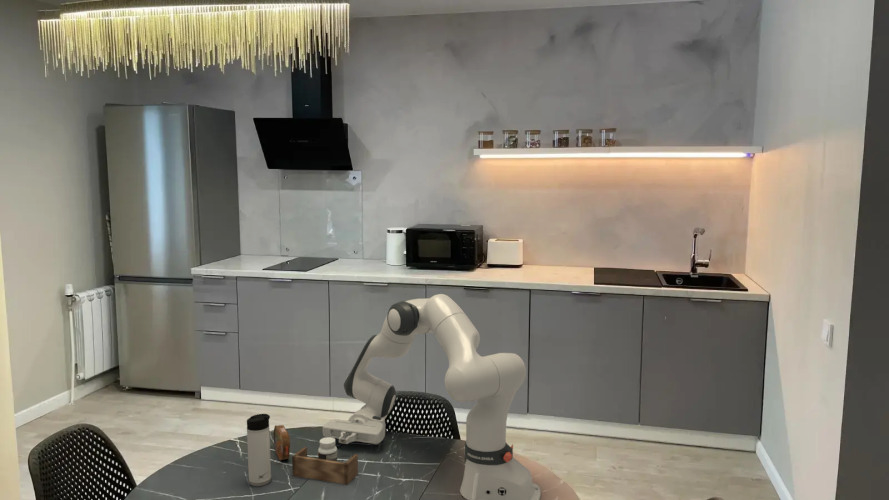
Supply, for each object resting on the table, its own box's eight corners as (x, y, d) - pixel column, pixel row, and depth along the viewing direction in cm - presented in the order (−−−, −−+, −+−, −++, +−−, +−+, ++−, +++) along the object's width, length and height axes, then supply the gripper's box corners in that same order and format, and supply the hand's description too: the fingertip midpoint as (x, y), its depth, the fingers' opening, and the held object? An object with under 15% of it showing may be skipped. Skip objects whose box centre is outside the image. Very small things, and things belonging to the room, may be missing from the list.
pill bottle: (314, 471, 192) (314, 439, 191) (331, 465, 196) (331, 434, 195) (324, 478, 188) (323, 445, 187) (341, 472, 191) (340, 440, 190)
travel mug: (266, 487, 182) (263, 420, 180) (244, 485, 183) (242, 418, 181) (276, 477, 188) (273, 412, 186) (255, 475, 189) (253, 410, 187)
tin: (273, 446, 210) (272, 421, 209) (282, 444, 211) (281, 420, 210) (281, 465, 196) (280, 438, 195) (292, 463, 198) (291, 437, 197)
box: (358, 473, 190) (357, 454, 190) (347, 484, 184) (347, 464, 183) (304, 465, 196) (304, 446, 195) (292, 475, 189) (292, 456, 188)
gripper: (333, 412, 217) (313, 427, 204) (389, 419, 211) (372, 435, 198) (333, 429, 217) (313, 446, 204) (389, 437, 211) (372, 455, 198)
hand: (342, 441), depth 201 cm, fingers closed
